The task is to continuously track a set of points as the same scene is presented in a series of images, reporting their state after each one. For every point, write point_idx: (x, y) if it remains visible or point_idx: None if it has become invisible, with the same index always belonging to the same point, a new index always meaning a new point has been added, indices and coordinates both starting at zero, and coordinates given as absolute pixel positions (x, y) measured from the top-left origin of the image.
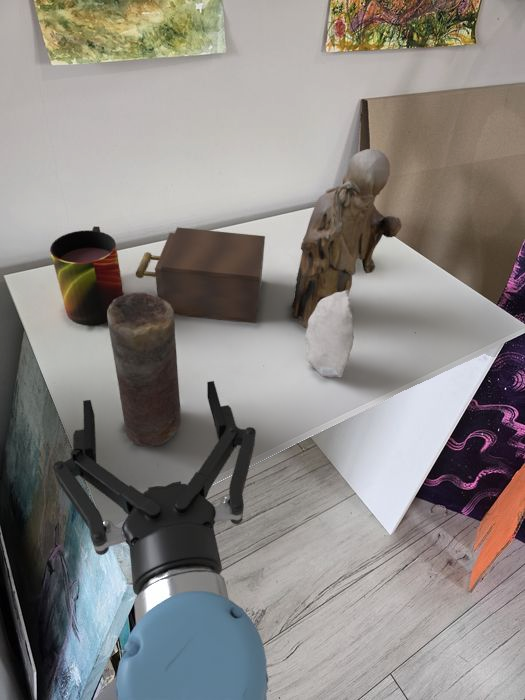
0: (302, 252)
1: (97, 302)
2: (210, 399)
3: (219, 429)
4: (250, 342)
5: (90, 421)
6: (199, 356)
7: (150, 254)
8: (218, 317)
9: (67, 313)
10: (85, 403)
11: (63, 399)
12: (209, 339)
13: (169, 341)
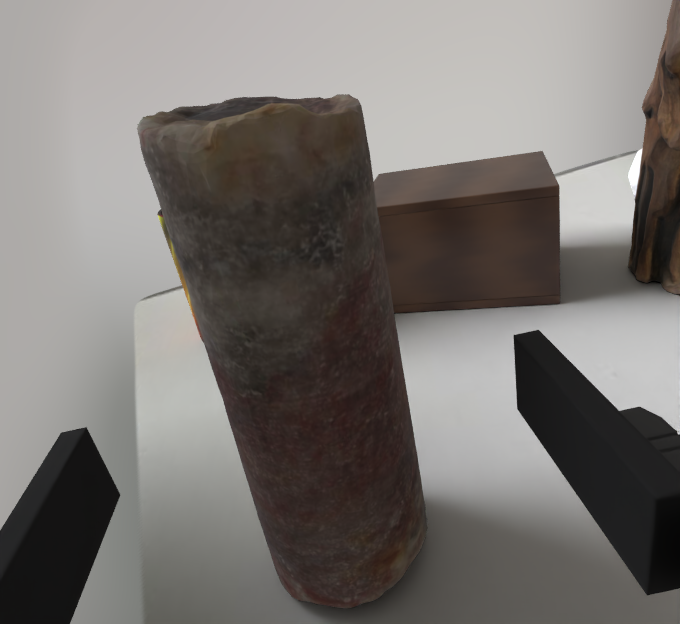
0: (647, 122)
1: None
2: (542, 397)
3: (658, 521)
4: (561, 335)
5: (40, 506)
6: (450, 372)
7: None
8: (477, 303)
9: (199, 333)
10: (62, 440)
11: (149, 483)
12: (466, 341)
13: (352, 187)
